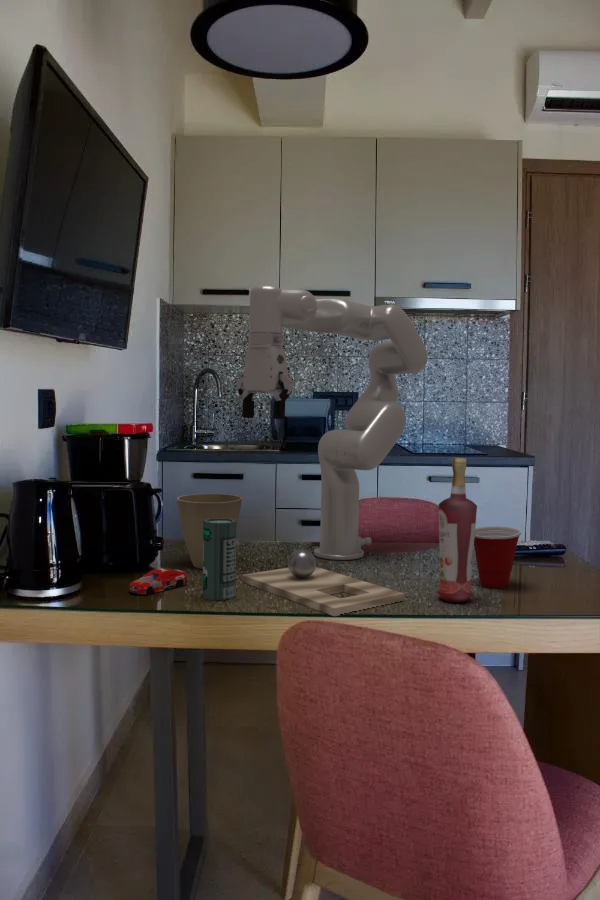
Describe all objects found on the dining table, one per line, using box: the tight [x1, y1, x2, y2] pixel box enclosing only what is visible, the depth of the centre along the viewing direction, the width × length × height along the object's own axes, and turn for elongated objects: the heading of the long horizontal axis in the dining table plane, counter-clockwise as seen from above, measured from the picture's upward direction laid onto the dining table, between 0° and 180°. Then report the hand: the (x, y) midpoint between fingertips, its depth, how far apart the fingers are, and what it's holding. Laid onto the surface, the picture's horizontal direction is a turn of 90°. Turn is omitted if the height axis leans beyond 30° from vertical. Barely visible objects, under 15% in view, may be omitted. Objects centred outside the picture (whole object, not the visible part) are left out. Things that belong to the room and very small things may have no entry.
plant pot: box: [176, 493, 243, 570], centre depth 168 cm, size 15×15×16 cm
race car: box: [129, 567, 188, 596], centre depth 147 cm, size 13×5×4 cm, turn 140°
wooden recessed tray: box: [241, 566, 405, 617], centre depth 147 cm, size 30×18×2 cm, turn 38°
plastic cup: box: [473, 525, 522, 589], centre depth 155 cm, size 11×11×12 cm
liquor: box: [436, 457, 478, 604], centre depth 142 cm, size 7×7×28 cm
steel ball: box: [287, 548, 317, 578], centre depth 152 cm, size 6×6×6 cm
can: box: [202, 518, 237, 601], centre depth 142 cm, size 6×6×15 cm
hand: (263, 418), depth 164 cm, fingers open, 9 cm apart
